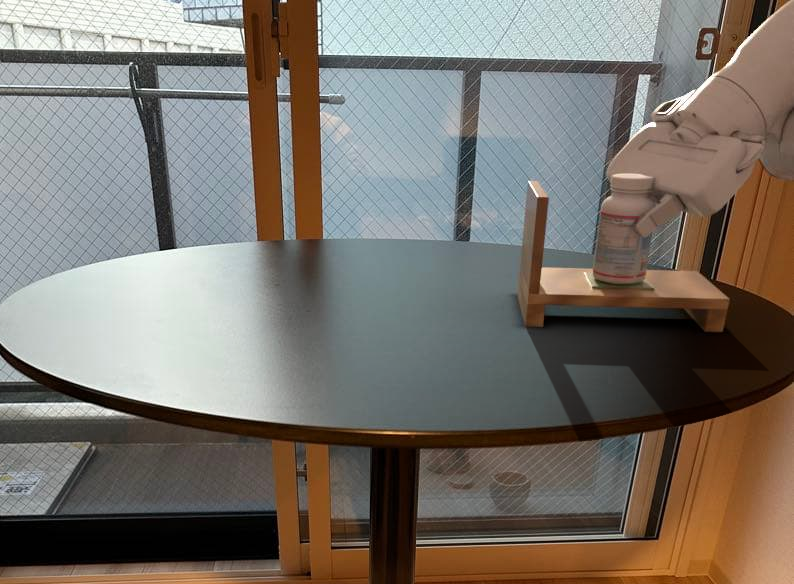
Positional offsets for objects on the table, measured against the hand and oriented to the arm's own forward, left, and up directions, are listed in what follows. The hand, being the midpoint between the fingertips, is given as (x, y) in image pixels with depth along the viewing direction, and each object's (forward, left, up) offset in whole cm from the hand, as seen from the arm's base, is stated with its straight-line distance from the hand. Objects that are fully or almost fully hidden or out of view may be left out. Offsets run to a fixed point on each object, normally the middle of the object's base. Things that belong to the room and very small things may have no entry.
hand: (620, 226), depth 92 cm
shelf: (-1, 0, -10) cm, 10 cm away
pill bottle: (-1, 0, -6) cm, 6 cm away
